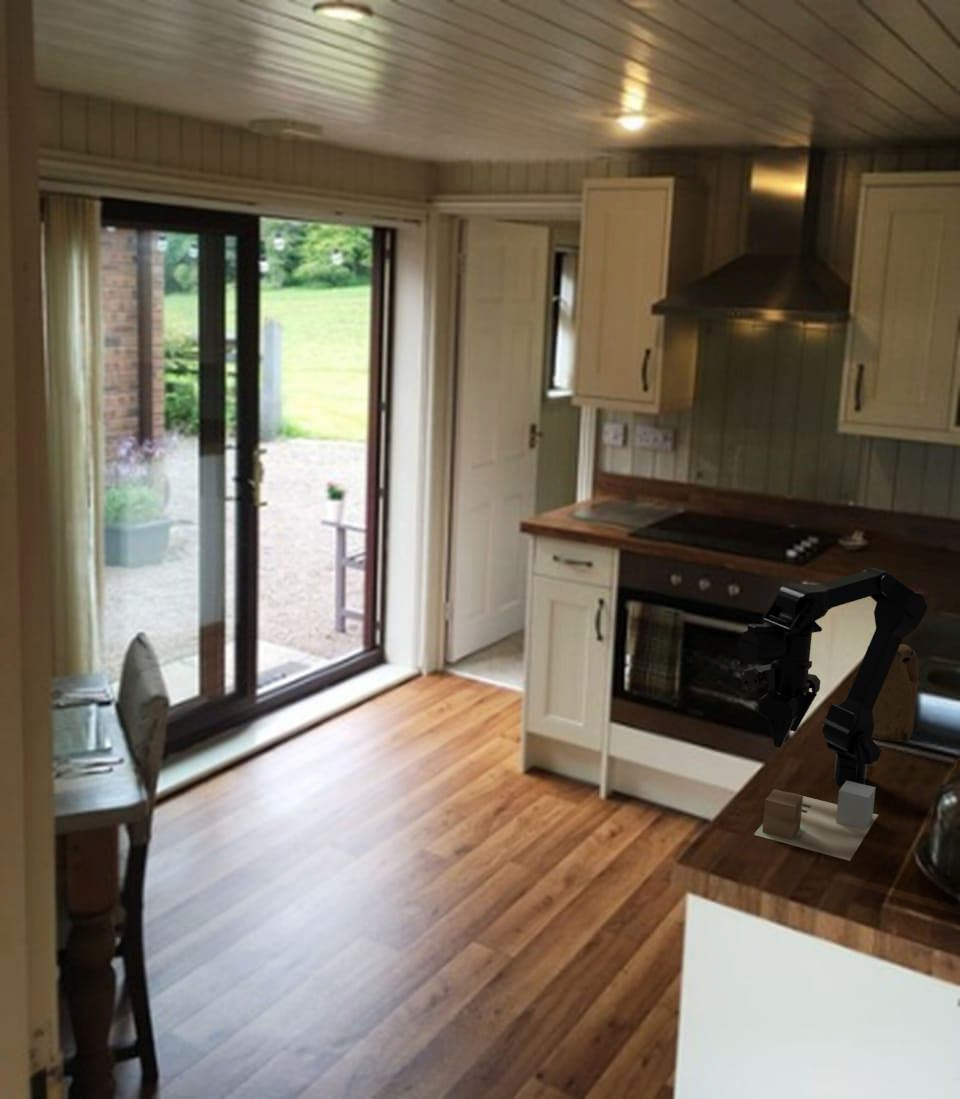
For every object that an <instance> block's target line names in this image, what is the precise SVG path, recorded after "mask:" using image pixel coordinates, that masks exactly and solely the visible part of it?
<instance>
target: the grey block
mask: <svg viewBox="0 0 960 1099" xmlns="http://www.w3.org/2000/svg"><path fill="white" fill-rule="evenodd" d="M876 788H877V787H876V786H871V785H867V784H859V783H855V782H851V781H847V780H846V782H845V783H844V785H843V786H842V787H841V786H840V788H839V790H838V796H837V797H838V799H837V805H838V806H837V816H836V823H840V824H844V825H847V826H851V827H855V828H859V829H863V830H866V828H867V827H868V825H869V823H870V822H871V820H872V816H873V814H874V808H875V807H874V806H875V805H874V804H875V796H876Z"/></svg>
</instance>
